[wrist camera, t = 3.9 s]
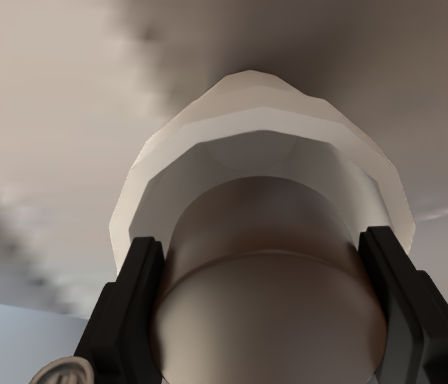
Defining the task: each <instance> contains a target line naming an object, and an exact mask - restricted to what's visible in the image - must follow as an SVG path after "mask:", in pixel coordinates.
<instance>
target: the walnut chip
mask: <svg viewBox="0 0 448 384" xmlns="http://www.w3.org/2000/svg"><path fill="white" fill-rule="evenodd" d="M387 335H388V325H387V320H386V315H385V312H384V310H383V308H382V305H381V303H380V300H379V298H378V296H377V294H376V291H375V289H374V287H373V285H372V282H371V280H370V278H369V276H368V273H367V271H366V269H365V267H364V264H363V262H362V260H361V258H360V255H359V253H358V251H357V249H356V246H355V244H354V242H353V239H352V237H351V235H350V233H349V230H348V228H347V226H346V224H345V221H344V219H343V218H342V216H341V215H340V213H339V211H338V210H337V209H336V208H335V207H334V205H333V204H332V203H331V202H330V201H329V200H328V199H326V198H325V197H324V196H323V195H322V194H320V193H319V192H317V191H315V190H314V189H312V188H310V187H308V186H306V185H304V184H302V183H299V182H296V181H293V180H290V179H285V178H280V177H273V176H250V177H243V178H237V179H234V180H231V181H227V182H224V183H222V184H220V185H217V186H215V187H213V188H211V189H209V190H208V191H206V192H204V193H203V194H201V195H200V196H199V197H198V198H196V199H195V200H194V201H193V202H192V203H191V204H190V205H189V206H188V207H187V208H186V209H185V210H184V212H183V213H182V215H181V216H180V217H179V219H178V221H177V223H176V225H175V227H174V230H173V233H172V236H171V240H170V244H169V248H168V252H167V255H166V259H165V263H164V267H163V271H162V274H161V278H160V282H159V286H158V289H157V293H156V297H155V301H154V305H153V308H152V312H151V316H150V320H149V326H148V342H149V347H150V351H151V355H152V359H153V361H154V364H155V366H156V368H157V369H158V371H159V373H160V374H161V375H162V377H163V378H164V379H165V380H166V382H167V383H168V384H366V383H367V382H368V381H369V380H370V378H371V377H372V376H373V375H374V373H375V372H376V371H377V369H378V367H379V365H380V364H381V362H382V359H383V357H384V354H385V348H386V342H387Z"/></svg>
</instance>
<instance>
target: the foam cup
mask: <svg viewBox="0 0 448 384" xmlns="http://www.w3.org/2000/svg"><path fill="white" fill-rule="evenodd" d="M250 176H273V177H280V178H285V179H290V180H293V181H296V182H299V183H302V184H304V185H306V186H308V187H310V188H312V189H314V190H315V191H317V192H319V193H320V194H322V195H323V196H324V197H325V198H326V199H328V200H329V201H330V202H331V203H332V204H333V205H334V207H335V208H336V209H337V210H338V211H339V213H340V215H341V216H342V218H343V219H344V221H345V224H346V226H347V228H348V230H349V233H350V235H351V237H352V239H353V242H354V244H355V246H356V249H357V251H358V245H359V236H360V232H366V229H367V227H368V226H389V227H390V228H391V229H392V231H393V233H394V234H395V236H396V238H397V239H398V241H399V242H400V244H401V246H402V247H403V249H404V250H405V252H406V254H407V255H409V252H410V247H411V243H412V240H413V235H414V232H415V228H416V227H415V224H414V220H413V217H412V214H411V211H410V208H409V205H408V202H407V199H406V196H405V193H404V190H403V187H402V184H401V181H400V178H399V175H398V172H397V169H396V168H395V167H394V165H393V164H392V163H391V162H390V161H389V159H388V158H387V157H386V156H385V155H384V153H383V152H382V151H381V150H380V149H379V148H378V146H377V145H376V144H375V143H374V142H373V140H372V139H371V138H369V137H368V136H367V135H366V134H365V133H364V132H362V131H361V130H360V129H359V128H358V127H357V126H355V125H354V124H353V123H352V122H351V121H349V120H348V119H347V118H346V117H345V116H344V115H342V114H341V113H340V112H339V111H338V110H336V109H335V108H334V107H333V106H332V105H331V104H329V103H328V102H327V101H326V100H324V99H319V98H315V97H310V96H306V95H305V94H303V93H302V92H300V91H299V90H297V89H296V88H294V87H292V86H291V85H289V84H288V83H286V82H285V81H283V80H282V79H280V78H278V77H277V76H275V75H271V74H267V73H262V72H258V71H254V70H247V71H243V72H239V73H235V74H231V75H227V76H225V77H224V78H222V79H221V80H220V81H219V82H218V83H216V84H215V85H214V86H213V87H212V88H210V89H209V90H208V91H207V92H206V93H205V94H204V95H202V96H201V97H200V98H199V99H198V100H195V101H193V102H192V103H191V104H190V105H188V106H187V107H186V108H185V109H184V110H182V111H181V112H180V113H179V114H178V115H176V116H175V117H174V118H173V119H172V120H171V121H169V122H168V123H167V124H166V125H165V126H163V127H162V128H161V129H160V130H159V131H157V132H156V133H155V134H154V135H153V136H151V137H150V138H149V139H148V140H147V141H146V143H145V145H144V146H143V148H142V150H141V152H140V153H139V155H138V157H137V158H136V160H135V162H134V164H133V165H132V167H131V169H130V171H129V174H128V176H127V179H126V182H125V184H124V187H123V189H122V192H121V195H120V197H119V200H118V202H117V205H116V208H115V210H114V213H113V215H112V218H111V221H110V223H109V230H110V236H111V241H112V247H113V252H114V258H115V263H116V269H117V274H118V275H119V272H120V270H121V267H122V265H123V263H124V260H125V258H126V255H127V253H128V250H129V248H130V246H131V243H132V241H133V239H134V238H135V237H150V236H153V237H154V238H155V241H161V243H162V248H163V253H164V259H166V255H167V252H168V248H169V244H170V240H171V236H172V233H173V230H174V227H175V225H176V223H177V221H178V219H179V217H180V216H181V215H182V213H183V212H184V210H185V209H186V208H187V207H188V206H189V205H190V204H191V203H192V202H193V201H194V200H195V199H196V198H198V197H199V196H200V195H201V194H203V193H204V192H206V191H208V190H209V189H211V188H213V187H215V186H217V185H220V184H222V183H224V182H227V181H231V180H234V179H237V178H243V177H250Z"/></svg>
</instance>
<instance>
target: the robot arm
mask: <svg viewBox="0 0 448 384" xmlns="http://www.w3.org/2000/svg"><path fill="white" fill-rule="evenodd" d="M358 253H359V255H360V258H361V260H362V262H363V264H364V267H365V269H366V271H367V273H368V276H369V278H370V280H371V282H372V285H373V287H374V289H375V291H376V294H377V296H378V298H379V300H380V303H381V305H382V308H383V310H384V312H385V315H386V320H387V325H388V335H387V342H386V348H385V354H384V357H383V359H382V362H381V364H380V365H379V367H378V369H377V371H376V372H375V375H376V378H377V381H378V384H448V304H447V302H446V301H445V299H444V298H443V296H442V295H441V293H440V292H439V290H438V289H437V287H436V285H435V284H434V282H433V281H432V279H431V278H430V276H429V275H428V274H427V273H426V272H425V271H423V270H416V269H415V267H414V265H413V264H412V262H411V260H410V259H409V257H408V255H407V254H406V252H405V250H404V249H403V247H402V246H401V244H400V242H399V241H398V239H397V238H396V236H395V234H394V233H393V231H392V229H391V228H390V227H389V226H368V227H367V229H366V232H360V236H359V245H358ZM164 263H165V259H164V253H163V248H162V243H161V241H155V238H154V237H153V236H150V237H135V238H134V239H133V241H132V243H131V246H130V248H129V250H128V253H127V255H126V258H125V260H124V263H123V265H122V267H121V270H120V272H119V275H118V277H117V280H116V282H108V283H107V284H105V286H104V288H103V290H102V292H101V294H100V297H99V299H98V301H97V303H96V306H95V308H94V310H93V312H92V315H91V317H90V319H89V322H88V324H87V326H86V328H85V331H84V333H83V335H82V337H81V339H80V342H79V344H78V346H77V349H76V351H75V353H74V356H70V357H64V358H60V359H58V360H55V361H53V362H51V363H49V364H48V365H46V366H45V367H43V368H42V369H41V370H40V371H39V372H38V373H37V374H36V375H35V376H34V377H33V378H32V380H31V381H30V383H29V384H161V383H162V375H161V374H160V373H159V371H158V369H157V368H156V366H155V364H154V361H153V359H152V355H151V351H150V347H149V342H148V326H149V320H150V316H151V312H152V308H153V305H154V301H155V297H156V293H157V289H158V286H159V282H160V278H161V274H162V271H163V267H164Z"/></svg>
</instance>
